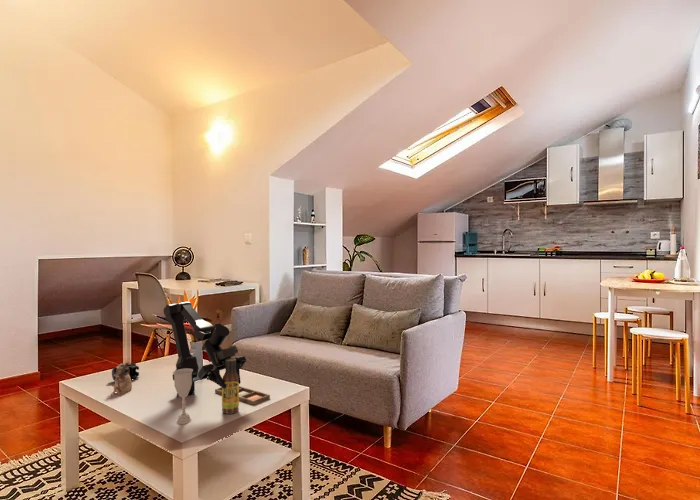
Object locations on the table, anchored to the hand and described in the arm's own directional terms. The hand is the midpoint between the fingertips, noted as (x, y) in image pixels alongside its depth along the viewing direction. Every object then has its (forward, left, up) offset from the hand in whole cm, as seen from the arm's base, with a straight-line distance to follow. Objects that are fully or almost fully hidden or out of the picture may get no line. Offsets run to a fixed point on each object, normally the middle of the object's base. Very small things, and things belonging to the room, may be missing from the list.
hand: (232, 385), depth 160 cm
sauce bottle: (-1, +1, -10) cm, 10 cm away
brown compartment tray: (+5, +17, -10) cm, 21 cm away
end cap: (-44, +62, -10) cm, 77 cm away
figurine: (-43, +45, -10) cm, 63 cm away
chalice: (-17, -1, -10) cm, 20 cm away
